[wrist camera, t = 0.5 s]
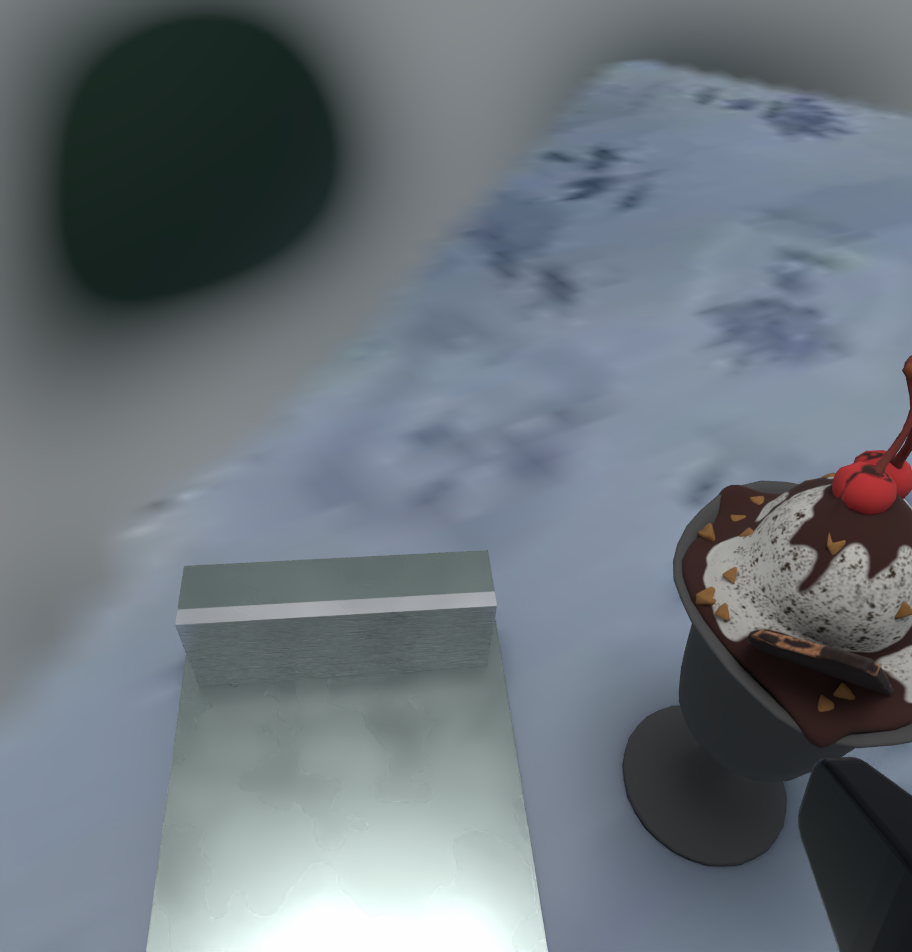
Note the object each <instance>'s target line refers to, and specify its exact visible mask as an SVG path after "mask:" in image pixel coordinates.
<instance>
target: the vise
mask: <svg viewBox="0 0 912 952" xmlns="http://www.w3.org/2000/svg"><path fill="white" fill-rule="evenodd" d="M496 608H497V604H496V597H495V591H494V585H493V579H492V573H491V566H490V560H489V554H488V550H486V551H467V552H447V553H428V554H409V555H390V556H370V557H351V558H332V559H312V560H293V561H274V562H255V563H235V564H216V565H197V566H184V570H183V577H182V583H181V590H180V597H179V604H178V610H177V617H176V624H175V625H176V628H177V631H178V633H179V636H180V639H181V641H182V644H183V647H184V649H185V652H186V659H185V667H184V674H183V681H182V689H181V696H180V704H179V711H178V719H177V726H176V734H175V741H174V748H173V756H172V763H171V771H170V778H169V786H168V793H167V801H166V808H165V816H164V823H163V830H162V838H161V845H160V853H159V860H158V868H157V875H156V883H155V890H154V897H153V905H152V912H151V920H150V927H149V935H148V942H147V950H146V952H548V950H547V944H546V938H545V931H544V925H543V919H542V912H541V906H540V900H539V893H538V887H537V880H536V874H535V868H534V861H533V855H532V849H531V842H530V836H529V830H528V823H527V817H526V811H525V804H524V798H523V792H522V785H521V779H520V773H519V766H518V760H517V754H516V747H515V741H514V735H513V728H512V722H511V716H510V709H509V703H508V697H507V690H506V684H505V677H504V671H503V665H502V658H501V652H500V646H499V639H498V633H497V627H496V620H495V614H496Z"/></svg>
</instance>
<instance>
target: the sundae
mask: <svg viewBox="0 0 912 952" xmlns="http://www.w3.org/2000/svg"><path fill="white" fill-rule="evenodd" d="M902 371H903V373H904V374H905V376H906V380H907V386H908V391H909V396H910V410H909V414H908V417H907V420H906V422H905V424H904V426H903V429H902V431H901V433H900V434H899V435H898V437H897V438H896V440H895V441H894V443H893V444H892V445H891V447H890V448H889V449H888V450H887V451H884V450H877V451H865V452H864V453H862V454H860V455H859V456H857V457H856V458H855V460H854V463H853V464H851V465H847V466H844V467H841V468H840V469H839V470H838V471H837V472H836V474H835V473H830V474H827V475H825V476H822V477H821V478H816V479H810V480H806V481H804V482H802V483H801V484H795V483H789V482H778V481H758V482H754V483H749V484H745V485H730V486H727V487H726V488H724V489H723V490H722V491H721V492H720V493H719V495H718V496H716V497H715V498H714V499H713V500H712V501H711V502H710V503H708V504H707V505H706V506H705V507H704V508H703V509H701V510H700V511H699V513H698V514H697V515H696V516H695V517H694V518H693V519H692V521H691V522H690V523H689V524H688V525H687V526H686V528H685V530H684V532H683V534H682V536H681V538H680V540H679V542H678V544H677V548H676V552H675V556H674V559H673V575H674V582H675V585H676V588H677V590H678V593H679V596H680V599H681V601H682V603H683V605H684V607H685V610H686V612H687V614H688V616H689V618H690V620H691V622H692V626H691V629H690V633H689V637H688V640H687V644H686V648H685V652H684V657H683V662H682V666H681V674H680V685H679V703H680V706H671V707H668V708H665V709H662V710H659V711H657V712H655V713H653V714H651V715H649V716H647V717H646V718H645V719H644V720H643V721H642V722H641V723H640V724H639V725H638V726H637V728H636V729H635V730H634V732H633V733H632V734H631V736H630V737H629V740H628V743H627V746H626V749H625V754H624V759H623V774H624V782H625V786H626V791H627V795H628V798H629V800H630V802H631V804H632V806H633V808H634V810H635V812H636V813H637V815H638V817H639V818H640V820H641V821H642V823H643V824H644V826H645V827H646V828H647V829H648V830H649V831H650V832H651V833H652V834H653V835H654V836H655V837H656V838H657V839H658V840H659V841H660V842H662V843H663V844H664V845H665V846H667V847H668V848H669V849H671V850H672V851H673V852H675V853H677V854H679V855H681V856H684V857H686V858H688V859H690V860H693V861H696V862H699V863H702V864H705V865H715V866H730V865H741V864H743V863H745V862H748V861H750V860H752V859H755V858H756V857H758V856H760V855H761V854H763V853H764V852H766V851H767V850H768V849H769V848H770V846H771V845H772V844H773V843H774V841H775V840H776V839H777V837H778V835H779V833H780V831H781V829H782V828H783V825H784V819H785V813H786V792H785V788H784V783H783V781H788V780H791V779H794V778H797V777H799V776H802V775H804V774H807V773H809V772H812V769H813V766H814V764H815V763H816V762H818V761H819V760H820V759H823V758H841V757H842V756H844V755H845V754H847V753H848V752H850V751H852V750H853V749H855V748H866V747H878V746H891V745H898V744H904V743H910V742H912V507H911V506H910V505H909V504H908V502H907V501H906V500H905V499H904V498H905V497H906V496H907V495H908V494H909V492H910V491H911V490H912V470H911V466H910V465H909V464H908V463H907V461H905V460H906V459H907V457H908V456H909V454H910V452H911V451H912V356H910V357H909V358H908V359H907V361H906V362H905V365H904V368H903V370H902ZM906 438H907V439H906ZM905 439H906V441H905ZM904 441H905V444H904V445H903V447H902V448H901V446H902V444H903V443H904ZM900 448H901V450H900V451H899V449H900ZM898 451H899V452H898ZM897 452H898V454H896V453H897Z"/></svg>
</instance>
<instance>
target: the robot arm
mask: <svg viewBox="0 0 912 952" xmlns="http://www.w3.org/2000/svg"><path fill="white" fill-rule="evenodd" d="M798 827H799V833H800V837H801V840H802V843H803V846H804V849H805V852H806V855H807V858H808V861H809V864H810V867H811V870H812V873H813V876H814V879H815V882H816V885H817V888H818V890H819V893H820V896H821V899H822V902H823V905H824V908H825V911H826V914H827V917H828V920H829V923H830V926H831V929H832V932H833V935H834V938H835V941H836V944H837V946H838V949H839V952H912V796H911V795H910V794H909V793H907V792H906V791H905V790H903V789H902V788H900V787H899V786H898V785H896V784H895V783H894V782H892V781H891V780H890V779H888V778H887V777H885V776H884V775H883V774H881V773H880V772H879V771H877V770H876V769H875V768H873V767H872V766H870V765H869V764H868V763H866V762H864V761H863V760H861V759H858V758H854V757H841V758H823V759H820V760H819V761H818V762H816V763H815V764H814V766H813V769H812V772H811V775H810V778H809V781H808V784H807V787H806V791H805V794H804V797H803V800H802V803H801V806H800V809H799V814H798Z"/></svg>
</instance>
